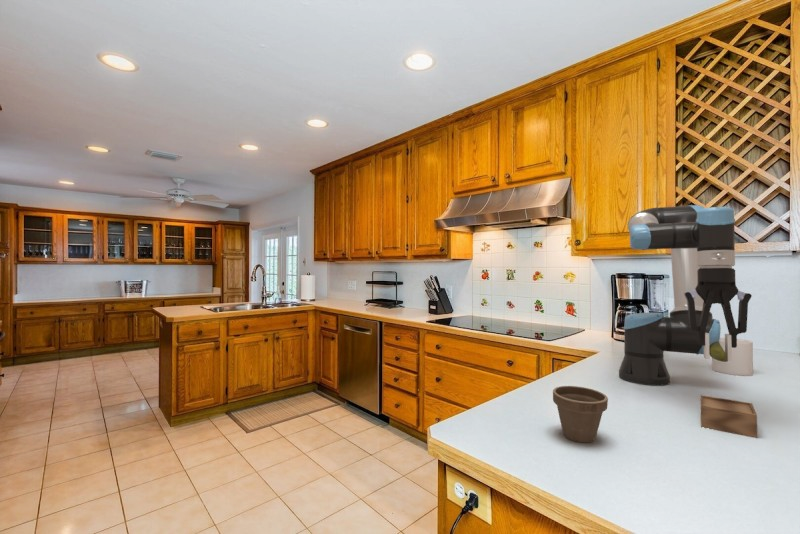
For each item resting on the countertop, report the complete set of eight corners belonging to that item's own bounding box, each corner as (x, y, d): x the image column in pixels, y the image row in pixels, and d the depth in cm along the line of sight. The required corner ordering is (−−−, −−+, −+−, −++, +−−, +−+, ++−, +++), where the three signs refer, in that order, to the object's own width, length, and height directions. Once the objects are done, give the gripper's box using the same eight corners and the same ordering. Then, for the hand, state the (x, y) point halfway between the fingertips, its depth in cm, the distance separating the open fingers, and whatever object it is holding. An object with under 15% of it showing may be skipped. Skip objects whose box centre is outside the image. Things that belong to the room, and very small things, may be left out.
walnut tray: (701, 428, 93) (700, 405, 93) (700, 416, 101) (700, 395, 101) (757, 439, 87) (756, 415, 87) (752, 425, 95) (752, 403, 95)
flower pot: (616, 451, 80) (616, 402, 81) (559, 446, 82) (559, 399, 82) (598, 428, 92) (597, 386, 92) (548, 425, 94) (548, 384, 94)
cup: (746, 377, 137) (746, 344, 137) (707, 370, 147) (706, 339, 147) (757, 373, 143) (757, 341, 143) (719, 366, 153) (718, 336, 153)
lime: (719, 359, 99) (719, 340, 100) (736, 363, 95) (736, 342, 95) (702, 359, 99) (702, 339, 100) (719, 362, 94) (718, 342, 95)
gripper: (677, 267, 99) (679, 358, 98) (764, 266, 91) (766, 366, 90) (674, 268, 106) (675, 353, 105) (754, 268, 97) (756, 360, 97)
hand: (717, 359), depth 97 cm, fingers closed on lime, 4 cm apart
